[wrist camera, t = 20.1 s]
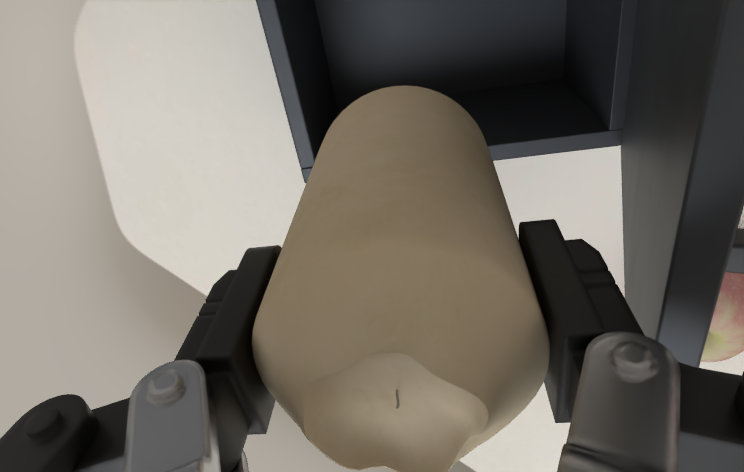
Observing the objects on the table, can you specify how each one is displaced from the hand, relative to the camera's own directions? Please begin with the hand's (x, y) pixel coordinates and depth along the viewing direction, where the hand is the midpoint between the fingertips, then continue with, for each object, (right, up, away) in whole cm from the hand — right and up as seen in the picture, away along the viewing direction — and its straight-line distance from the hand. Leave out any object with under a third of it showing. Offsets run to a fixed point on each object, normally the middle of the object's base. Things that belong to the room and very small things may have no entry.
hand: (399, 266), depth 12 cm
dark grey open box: (+3, +16, +19) cm, 25 cm away
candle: (0, +3, +5) cm, 6 cm away
